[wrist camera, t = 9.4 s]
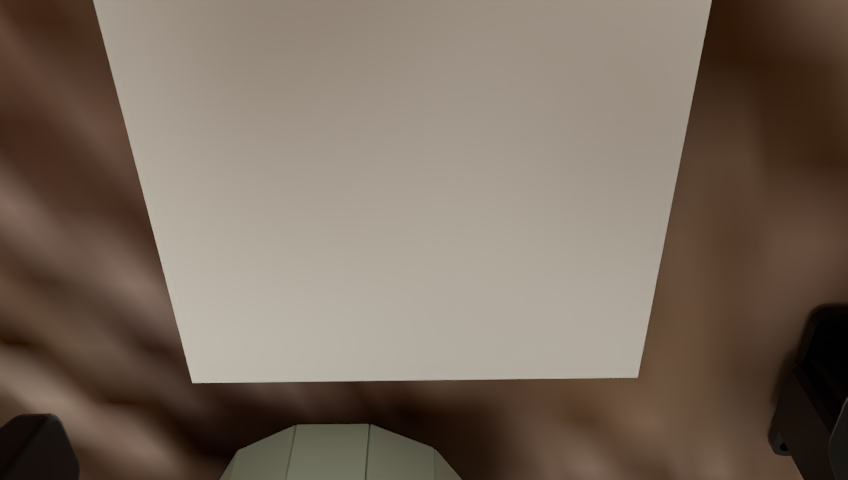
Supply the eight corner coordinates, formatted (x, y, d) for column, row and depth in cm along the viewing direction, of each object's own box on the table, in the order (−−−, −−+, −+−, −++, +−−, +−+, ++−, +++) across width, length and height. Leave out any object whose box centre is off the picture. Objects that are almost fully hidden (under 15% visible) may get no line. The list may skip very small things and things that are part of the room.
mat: (727, -117, 17) (734, -114, 16) (634, 369, 25) (637, 377, 25) (73, -105, 17) (66, -102, 17) (195, 374, 25) (192, 383, 25)
